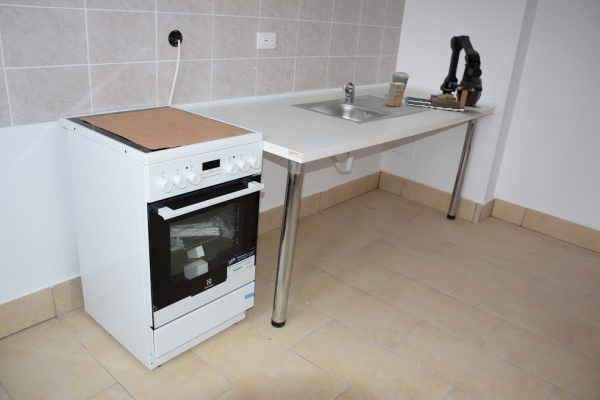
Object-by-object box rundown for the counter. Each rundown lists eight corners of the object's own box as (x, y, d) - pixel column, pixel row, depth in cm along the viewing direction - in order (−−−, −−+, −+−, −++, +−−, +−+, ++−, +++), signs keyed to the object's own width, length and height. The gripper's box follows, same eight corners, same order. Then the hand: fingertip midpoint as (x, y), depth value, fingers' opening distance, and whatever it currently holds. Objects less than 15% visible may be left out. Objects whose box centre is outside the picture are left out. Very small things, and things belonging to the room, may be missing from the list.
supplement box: (392, 107, 283) (396, 84, 278) (386, 105, 287) (390, 82, 281) (401, 106, 288) (405, 83, 283) (395, 104, 292) (399, 82, 286)
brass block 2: (444, 99, 300) (446, 93, 298) (451, 100, 300) (452, 93, 298) (445, 101, 296) (447, 94, 295) (452, 101, 296) (454, 95, 294)
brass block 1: (436, 100, 296) (438, 93, 294) (443, 100, 296) (444, 94, 294) (437, 101, 292) (439, 94, 291) (444, 102, 292) (446, 95, 290)
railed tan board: (429, 103, 305) (431, 94, 303) (453, 106, 304) (455, 97, 302) (432, 108, 291) (434, 99, 289) (458, 111, 291) (460, 102, 288)
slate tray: (405, 100, 305) (406, 96, 304) (431, 103, 304) (432, 99, 303) (407, 105, 292) (408, 101, 291) (434, 108, 292) (435, 104, 291)
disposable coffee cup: (406, 99, 308) (411, 75, 302) (389, 97, 308) (393, 73, 302) (403, 96, 318) (408, 72, 312) (387, 94, 318) (391, 70, 312)
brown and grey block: (456, 107, 302) (460, 87, 297) (460, 108, 302) (465, 88, 297) (459, 111, 293) (464, 91, 288) (464, 111, 293) (469, 91, 288)
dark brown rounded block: (453, 104, 310) (461, 72, 302) (453, 101, 318) (460, 70, 310) (478, 108, 307) (486, 75, 299) (477, 105, 315) (485, 73, 307)
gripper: (454, 75, 282) (448, 102, 288) (487, 79, 281) (480, 106, 287) (451, 72, 292) (445, 98, 299) (483, 76, 291) (476, 102, 298)
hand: (462, 101), depth 295 cm, fingers closed on brown and grey block, 3 cm apart
